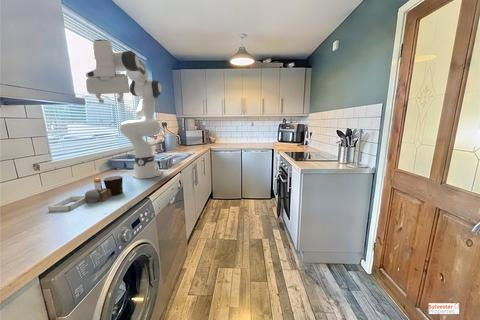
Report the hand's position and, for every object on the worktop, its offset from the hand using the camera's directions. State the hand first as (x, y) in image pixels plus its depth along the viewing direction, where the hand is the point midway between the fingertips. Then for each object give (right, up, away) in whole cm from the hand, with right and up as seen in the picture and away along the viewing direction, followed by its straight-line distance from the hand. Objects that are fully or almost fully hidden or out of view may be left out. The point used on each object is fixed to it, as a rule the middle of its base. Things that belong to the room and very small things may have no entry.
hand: (110, 102), depth 109 cm
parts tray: (-11, -52, -12) cm, 54 cm away
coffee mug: (+2, -49, +3) cm, 49 cm away
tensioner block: (-2, -50, -5) cm, 50 cm away
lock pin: (-2, -49, -5) cm, 49 cm away
